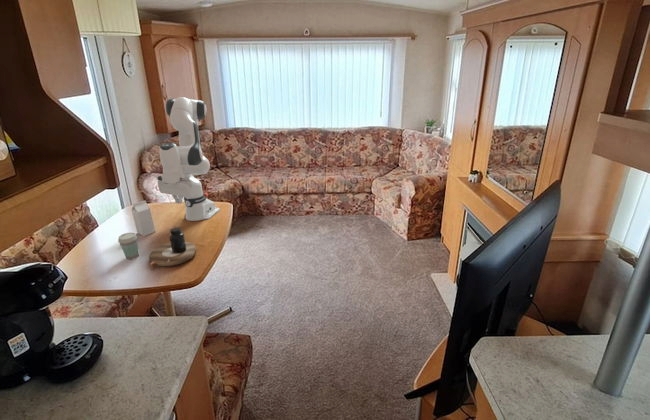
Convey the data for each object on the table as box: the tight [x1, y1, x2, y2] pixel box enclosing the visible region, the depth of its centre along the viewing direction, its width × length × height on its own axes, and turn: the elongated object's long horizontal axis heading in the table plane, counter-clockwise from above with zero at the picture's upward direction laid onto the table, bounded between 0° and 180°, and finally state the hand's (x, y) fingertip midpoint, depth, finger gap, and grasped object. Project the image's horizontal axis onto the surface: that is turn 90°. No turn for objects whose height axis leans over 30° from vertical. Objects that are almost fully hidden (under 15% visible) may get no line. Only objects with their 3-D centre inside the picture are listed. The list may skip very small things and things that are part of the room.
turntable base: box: [149, 261, 187, 271], centre depth 182 cm, size 22×18×4 cm
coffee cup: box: [117, 232, 140, 260], centre depth 183 cm, size 8×8×12 cm
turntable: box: [148, 241, 197, 267], centre depth 182 cm, size 22×22×8 cm
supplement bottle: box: [169, 227, 186, 254], centre depth 182 cm, size 7×7×12 cm
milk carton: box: [131, 199, 156, 237], centre depth 207 cm, size 7×7×19 cm
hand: (179, 202), depth 183 cm, fingers closed
